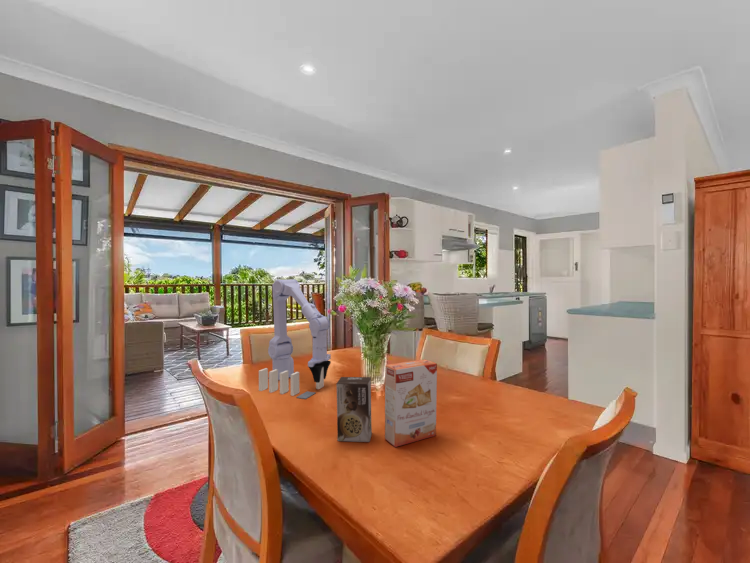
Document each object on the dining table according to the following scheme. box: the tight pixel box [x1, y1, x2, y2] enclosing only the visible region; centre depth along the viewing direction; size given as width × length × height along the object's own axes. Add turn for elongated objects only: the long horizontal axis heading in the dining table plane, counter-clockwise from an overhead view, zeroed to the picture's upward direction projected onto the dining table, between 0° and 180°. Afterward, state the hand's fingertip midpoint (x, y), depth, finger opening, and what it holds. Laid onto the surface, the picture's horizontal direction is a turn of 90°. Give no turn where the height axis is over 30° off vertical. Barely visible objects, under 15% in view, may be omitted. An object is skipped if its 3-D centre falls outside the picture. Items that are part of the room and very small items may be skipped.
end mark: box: [296, 390, 317, 400], centre depth 133 cm, size 7×4×1 cm, turn 158°
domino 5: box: [315, 367, 325, 390], centre depth 142 cm, size 4×1×8 cm, turn 158°
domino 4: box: [290, 371, 300, 397], centre depth 135 cm, size 4×1×8 cm, turn 158°
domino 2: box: [268, 369, 279, 394], centre depth 138 cm, size 4×1×8 cm, turn 158°
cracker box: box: [384, 358, 438, 448], centre depth 98 cm, size 14×6×21 cm, turn 120°
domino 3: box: [279, 371, 290, 395], centre depth 136 cm, size 4×1×8 cm, turn 158°
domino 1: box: [258, 367, 269, 392], centre depth 140 cm, size 4×1×8 cm, turn 158°
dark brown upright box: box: [335, 376, 373, 443], centre depth 99 cm, size 9×6×16 cm
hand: (319, 380), depth 142 cm, fingers closed on domino 5, 4 cm apart
